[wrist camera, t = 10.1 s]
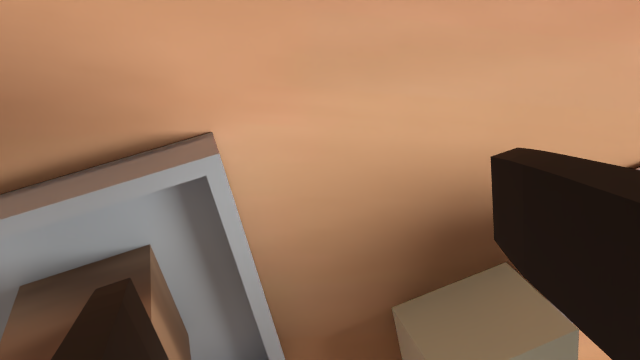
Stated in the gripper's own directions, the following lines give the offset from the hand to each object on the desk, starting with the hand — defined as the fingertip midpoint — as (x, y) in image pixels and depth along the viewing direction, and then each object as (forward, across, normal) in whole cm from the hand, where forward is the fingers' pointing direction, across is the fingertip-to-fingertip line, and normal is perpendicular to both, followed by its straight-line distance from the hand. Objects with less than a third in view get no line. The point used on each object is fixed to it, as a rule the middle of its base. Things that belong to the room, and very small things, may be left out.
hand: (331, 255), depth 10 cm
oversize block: (+10, -7, +14) cm, 18 cm away
